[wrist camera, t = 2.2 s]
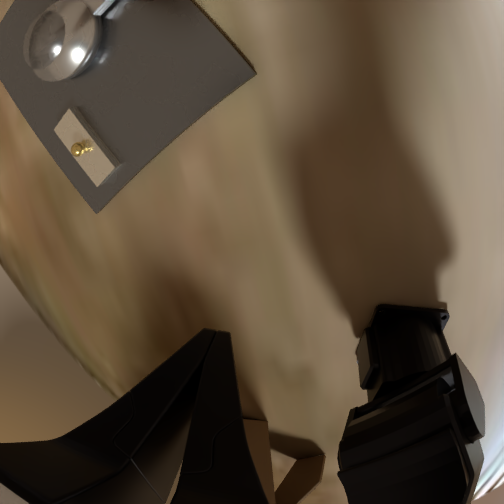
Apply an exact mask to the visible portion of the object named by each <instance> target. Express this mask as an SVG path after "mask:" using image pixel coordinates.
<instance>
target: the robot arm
mask: <svg viewBox="0 0 504 504" xmlns="http://www.w3.org/2000/svg"><path fill="white" fill-rule="evenodd" d="M381 310H384V311H382V312H380V311H381ZM444 315H445V316H444ZM442 316H443V317H442ZM448 319H449V313H448V311H447V310H443V309H431V308H419V307H408V306H397V305H387V304H380V305H378V306H377V307H376V308H375V311H374V314H373V316H372V319H371V322H370V325H369V327H367V328H366V329H365V330H364V333H363V335H362V338H361V341H360V343H359V346H358V349H357V363H358V366H359V378H360V387H361V388H362V389H363V390H367V396H368V403H366V404H364V405H362V406H360V407H355V408H353V409H350V412H349V416H348V419H347V423H346V426H345V430H344V433H343V436H342V440H341V441H340V443H339V450H338V457H337V459H338V465H339V469H340V471H338V473H337V475H338V477H339V479H340V481H341V482H342V484H343V486H344V489H345V492H346V495H347V498H348V503H349V504H471V500H472V497H473V495H474V492H475V489H476V485H477V482H478V479H479V476H480V472H481V469H482V465H483V461H484V454H483V451H482V447H481V444H480V440H479V439H480V438H482V437H484V436H485V405H484V402H483V399H482V396H481V394H480V391H479V388H478V386H477V383H476V381H475V379H474V378H473V376H472V375H471V373H470V372H469V370H468V369H467V367H466V366H465V365H464V363H463V362H462V360H461V359H460V358H459V356H458V355H457V353H455V354H453V355H451V353H450V350H449V347H448V344H447V342H446V339H445V336H444V334H443V329H444V327H445V325H446V323H447V321H448ZM182 460H183V462H182ZM181 463H182V467H181V472H180V477H179V481H178V485H177V489H176V492H175V494H174V496H173V498H172V500H171V503H170V504H269V502H268V500H267V497H266V495H265V492H264V489H263V487H262V484H261V481H260V479H259V476H258V473H257V470H256V467H255V465H254V462H253V459H252V456H251V453H250V449H249V446H248V442H247V437H246V433H245V427H244V421H243V416H242V409H241V403H240V396H239V389H238V383H237V376H236V369H235V362H234V355H233V348H232V341H231V334H230V332H226V331H220V330H219V331H216V330H214V329H208V328H204V329H202V330H201V331H200V332H199V333H197V334H196V335H195V336H194V337H193V338H192V339H190V340H189V341H188V342H187V343H186V344H185V345H183V346H182V347H181V348H180V349H179V350H177V351H176V352H175V353H174V354H173V355H172V356H170V357H169V358H168V359H167V360H166V361H164V362H163V363H162V364H161V365H160V366H159V367H157V368H156V369H155V370H154V371H153V372H151V373H150V374H149V375H148V376H147V377H145V378H144V379H143V380H142V381H141V382H139V383H138V384H137V385H136V386H135V387H133V388H132V389H131V390H130V391H128V392H127V393H126V394H125V395H123V396H122V397H121V398H120V399H118V400H117V401H116V402H115V403H113V404H112V405H111V406H109V407H108V408H106V409H105V410H104V411H102V412H101V413H99V414H98V415H96V416H95V417H93V418H91V419H90V420H88V421H86V422H85V423H83V424H82V425H80V426H78V427H77V428H75V429H73V430H72V431H70V432H68V433H67V434H65V435H63V436H61V437H58V438H56V439H52V440H48V441H35V442H17V443H0V504H165V503H166V501H167V498H168V496H169V493H170V491H171V488H172V485H173V483H174V480H175V478H176V475H177V472H178V470H179V467H180V465H181Z"/></svg>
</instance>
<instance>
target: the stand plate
mask: <svg viewBox="0 0 504 504" xmlns="http://www.w3.org/2000/svg"><path fill="white" fill-rule="evenodd" d="M57 1H59V0H15V1H14V2H13V4H12V5H11V7H10V8H9V10H8V11H7V13H6V15H5V16H4V18H3V20H2V21H1V23H0V80H1V82H2V83H3V85H4V86H5V88H6V90H7V91H8V93H9V94H10V96H11V98H12V99H13V101H14V102H15V104H16V105H17V107H18V108H19V110H20V112H21V113H22V115H23V116H24V118H25V119H26V121H27V122H28V123H29V125H30V126H31V128H32V129H33V131H34V132H35V134H36V135H37V137H38V138H39V139H40V141H41V142H42V144H43V145H44V146H45V148H46V149H47V151H48V152H49V153H50V155H51V156H52V158H53V159H54V160H55V162H56V163H57V164H58V166H59V167H60V168H61V170H62V171H63V172H64V174H65V175H66V176H67V178H68V179H69V180H70V182H71V183H72V184H73V185H74V187H75V188H76V189H77V191H78V192H79V193H80V194H81V196H82V197H83V198H84V199H85V201H86V202H87V203H88V204H89V206H90V207H91V208H92V209H93V211H94V212H95V213H96V214H97V213H99V212H100V211H101V210H102V209H103V208H104V207H105V206H106V205H107V204H108V203H109V202H110V201H111V199H112V198H113V197H114V196H115V195H116V194H117V193H118V192H119V191H120V190H121V189H122V188H123V187H124V186H125V185H126V184H127V183H128V182H129V181H130V180H131V179H132V178H133V177H134V176H136V175H137V174H138V173H139V172H140V171H141V170H142V169H143V168H144V167H145V166H146V165H147V164H148V163H149V162H150V161H151V160H152V159H153V158H155V157H156V156H157V155H158V154H159V153H160V152H161V151H162V150H163V149H164V148H166V147H167V146H168V145H169V144H170V143H171V142H172V141H173V140H175V139H176V138H177V137H178V136H179V135H180V134H182V133H183V132H184V131H185V130H186V129H187V128H189V127H190V126H191V125H192V124H193V123H195V122H196V121H197V120H198V119H199V118H201V117H202V116H203V115H204V114H206V113H207V112H208V111H209V110H210V109H212V108H213V107H214V106H216V105H217V104H218V103H219V102H221V101H222V100H223V99H224V98H226V97H227V96H228V95H230V94H231V93H232V92H234V91H235V90H236V89H238V88H239V87H240V86H242V85H243V84H244V83H246V82H247V81H249V80H250V79H251V78H253V77H254V76H255V75H257V74H256V72H255V71H254V70H253V69H252V68H251V66H250V65H249V64H248V63H247V61H246V60H245V59H244V58H243V57H242V56H241V54H240V53H239V52H238V51H237V50H236V49H235V47H234V46H233V45H232V44H231V43H230V42H229V41H228V39H227V38H226V37H225V36H224V35H223V34H222V33H221V32H220V30H219V29H218V28H217V27H216V26H215V25H214V24H213V23H212V22H211V21H210V19H209V18H208V17H207V16H206V15H205V14H204V13H203V12H202V11H201V10H200V9H199V8H198V7H197V6H196V5H195V4H194V3H193V2H192V1H191V0H115V1H114V2H113V3H112V4H111V5H110V6H109V7H108V8H107V9H106V10H105V11H104V12H103V14H102V15H101V18H102V26H103V30H102V38H101V42H100V46H99V48H98V51H97V53H96V55H95V57H94V59H93V60H92V62H91V63H90V64H89V66H88V67H87V68H86V69H85V70H84V71H83V72H82V73H80V74H79V75H77V76H76V77H74V78H71V79H68V80H61V81H54V82H49V81H45V80H42V79H41V78H39V77H38V76H37V75H36V74H35V73H34V71H33V69H32V68H31V67H30V66H28V64H27V63H26V61H25V58H24V54H23V44H24V39H25V35H26V33H27V30H28V28H29V26H30V25H31V23H32V22H33V21H34V20H35V18H37V17H38V16H39V15H40V14H42V13H43V12H44V11H45V10H46V9H47V8H48V7H50V6H51V5H52V4H54V3H55V2H57Z"/></svg>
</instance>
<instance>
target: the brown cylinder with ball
mask: <svg viewBox="0 0 504 504" xmlns="http://www.w3.org/2000/svg"><path fill="white" fill-rule="evenodd" d="M114 1H115V0H59V1H57V2H55V3H54V4H52V5H51V6H50V7H48V8H47V9H46V10H45V11H44V12H43V13H42V14H40V15H39V16H38V17H37V18H35V20H34V21H33V22H32V23H31V25H30V26H29V28H28V30H27V33H26V35H25V39H24V44H23V54H24V58H25V61H26V63H27V64H28V66H30V67H31V68H32V69H33V71H34V73H35V74H36V75H37V76H38V77H39V78H41V79H42V80H45V81H49V82H54V81H61V80H68V79H71V78H74V77H76V76H77V75H79V74H80V73H82V72H83V71H84V70H85V69H86V68H87V67H88V66H89V64H90V63H91V62H92V60H93V59H94V57H95V55H96V53H97V51H98V48H99V46H100V42H101V38H102V30H103V26H102V18H101V15H102V14H103V12H104V11H105V10H106V9H107V8H108V7H109V6H110V5H111V4H112V3H113V2H114Z"/></svg>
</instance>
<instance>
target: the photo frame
mask: <svg viewBox="0 0 504 504" xmlns="http://www.w3.org/2000/svg"><path fill="white" fill-rule="evenodd" d="M243 421H244V427H245V433H246V437H247V442H248V446H249V449H250V453H251V456H252V459H253V462H254V465H255V467H256V470H257V473H258V476H259V479H260V481H261V484H262V487H263V489H264V492H265V495H266V497H267V500H268V502H269V504H300V503H301V502H302V501H303V500H304V499H305V498H306V497H307V496H308V495H309V494H310V493H311V492H312V491H313V490H314V489H315V488H316V487H317V486H318V485H319V484H320V483H321V480H322V475H323V469H324V464H325V458H326V456H325V455H321V456H315V457H310V458H304V459H299V460H296V462H295V463H294V465H293V466H292V468H291V469H290V471H289V472H288V474H287V475H286V477H285V478H284V480H283V481H282V483H281V484H280V486H279V487H278V488H277V490H276V491H275V493H274V483H273V472H272V462H271V452H270V442H269V431H268V421H259V420H248V419H243Z"/></svg>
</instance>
